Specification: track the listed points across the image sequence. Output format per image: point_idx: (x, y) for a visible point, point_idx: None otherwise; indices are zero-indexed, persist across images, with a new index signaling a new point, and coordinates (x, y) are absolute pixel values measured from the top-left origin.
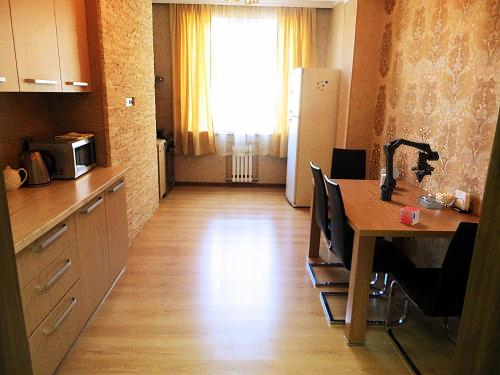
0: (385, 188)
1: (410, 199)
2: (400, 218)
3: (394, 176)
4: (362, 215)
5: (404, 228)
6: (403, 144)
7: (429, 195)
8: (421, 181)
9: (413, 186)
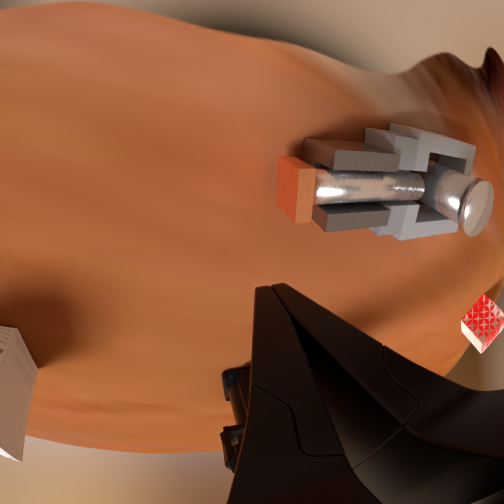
0: (231, 437)
1: (226, 249)
2: (469, 335)
3: None
4: None
5: None
6: None
7: (478, 232)
8: (310, 299)
9: None
